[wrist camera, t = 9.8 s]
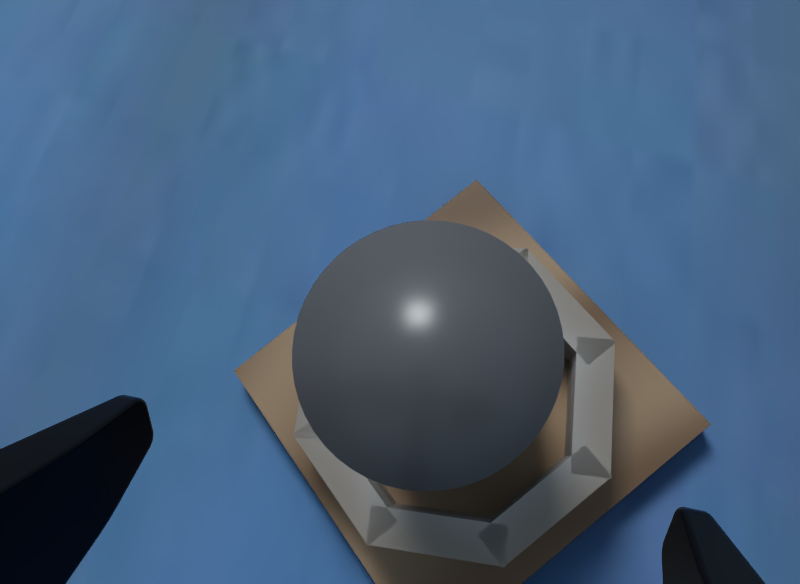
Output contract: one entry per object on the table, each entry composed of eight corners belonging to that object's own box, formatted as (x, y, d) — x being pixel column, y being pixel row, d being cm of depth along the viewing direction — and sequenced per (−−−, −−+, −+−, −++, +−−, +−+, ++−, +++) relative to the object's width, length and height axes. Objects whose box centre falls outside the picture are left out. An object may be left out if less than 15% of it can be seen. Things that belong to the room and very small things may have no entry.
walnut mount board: (700, 426, 21) (734, 420, 18) (431, 652, 20) (420, 685, 17) (477, 190, 25) (474, 155, 22) (244, 374, 24) (210, 362, 21)
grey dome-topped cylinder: (554, 455, 20) (609, 451, 11) (398, 495, 21) (318, 526, 11) (506, 304, 22) (517, 186, 13) (363, 344, 22) (268, 259, 13)
